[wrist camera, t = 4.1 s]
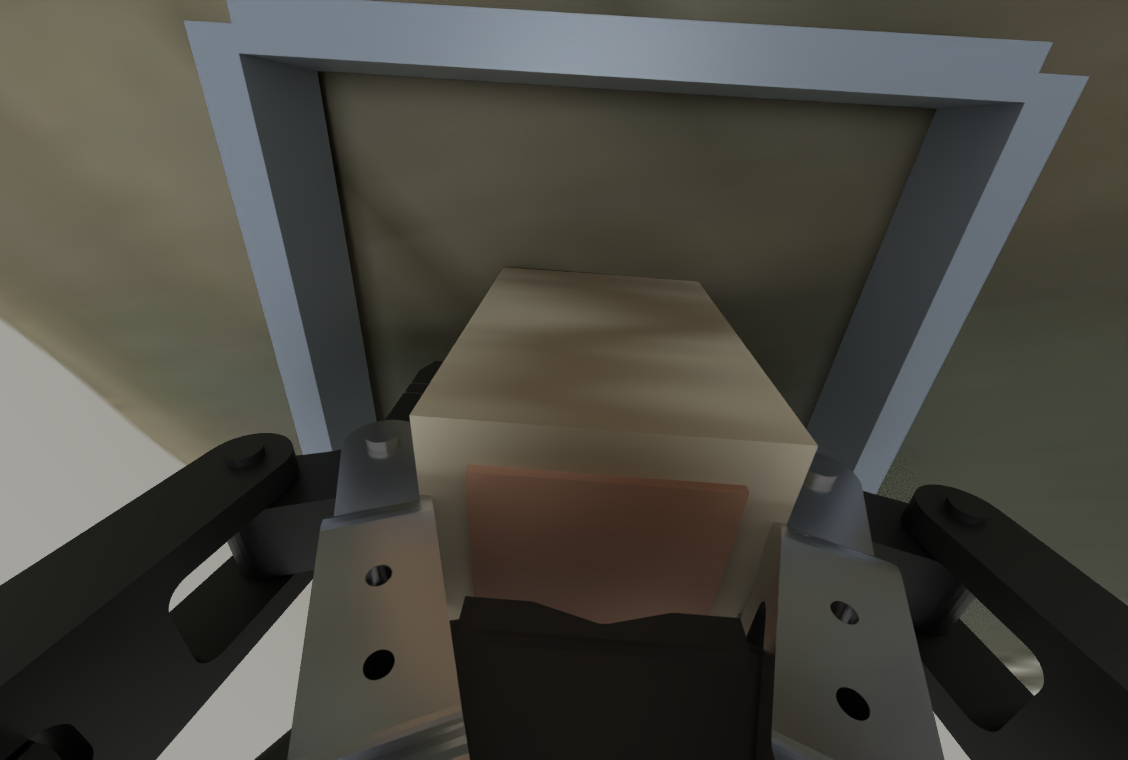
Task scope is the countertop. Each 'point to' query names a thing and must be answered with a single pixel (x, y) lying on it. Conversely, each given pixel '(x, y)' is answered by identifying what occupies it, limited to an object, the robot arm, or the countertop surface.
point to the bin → (638, 63)
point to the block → (605, 450)
